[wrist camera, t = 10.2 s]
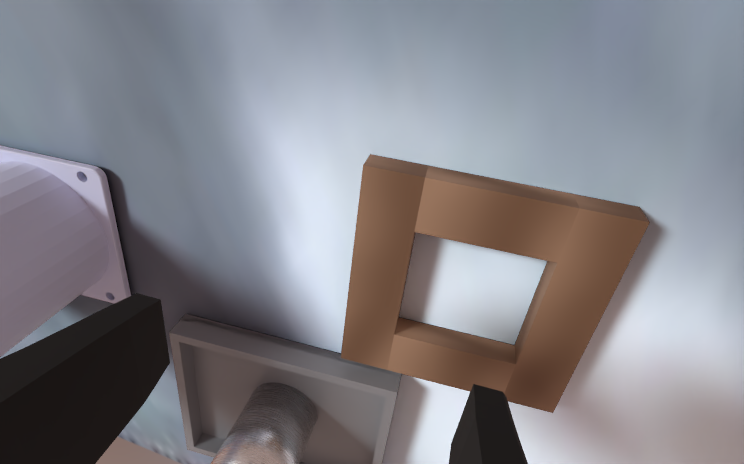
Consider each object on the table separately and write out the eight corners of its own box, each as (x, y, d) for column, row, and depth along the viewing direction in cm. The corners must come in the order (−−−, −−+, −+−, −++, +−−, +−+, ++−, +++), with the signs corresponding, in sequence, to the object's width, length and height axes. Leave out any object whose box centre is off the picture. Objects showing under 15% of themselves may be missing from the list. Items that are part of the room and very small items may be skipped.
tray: (200, 428, 29) (187, 449, 28) (185, 313, 24) (169, 332, 23) (377, 480, 28) (372, 505, 26) (402, 369, 23) (397, 392, 21)
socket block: (347, 340, 22) (340, 357, 21) (370, 154, 17) (363, 165, 16) (549, 391, 21) (553, 412, 20) (639, 206, 16) (649, 222, 15)
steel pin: (245, 414, 26) (187, 517, 21) (258, 372, 24) (197, 474, 19) (307, 441, 26) (263, 551, 21) (325, 401, 24) (281, 511, 19)
